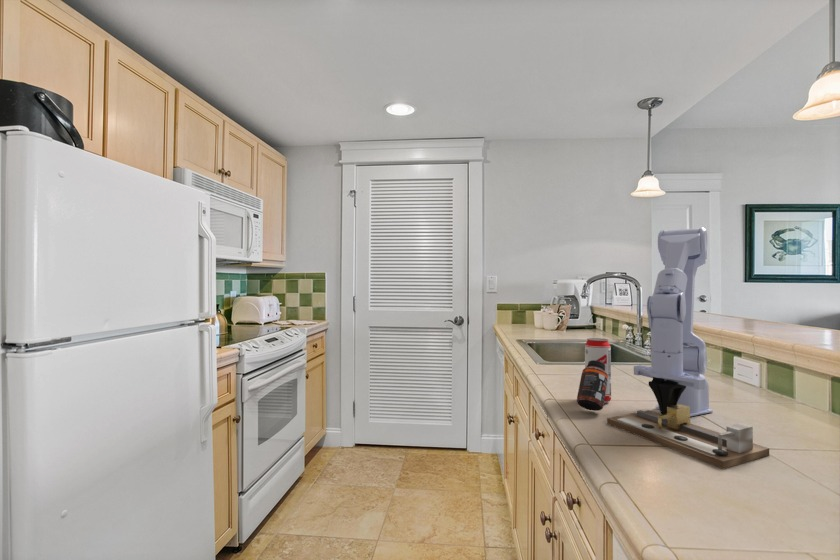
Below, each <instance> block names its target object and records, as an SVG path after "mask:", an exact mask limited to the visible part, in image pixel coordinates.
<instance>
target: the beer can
mask: <svg viewBox="0 0 840 560" xmlns="http://www.w3.org/2000/svg"><path fill="white" fill-rule="evenodd" d="M586 339H587V340H586V342H585V344H584V368H586V367H587V365H588V362H589V361H592V360H596V361H600V362H602V363H604V365H605V372H606V373H607V375H608V380H607V387H606V393H605V399H604V404H608V403H609V402H610V401H612V354H611V352H612V351H611V349H612V348H611V344H610V343H609V339H608V338H599V337H596V338H595V337H593V338H592V337H589V338H586Z"/></svg>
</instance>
